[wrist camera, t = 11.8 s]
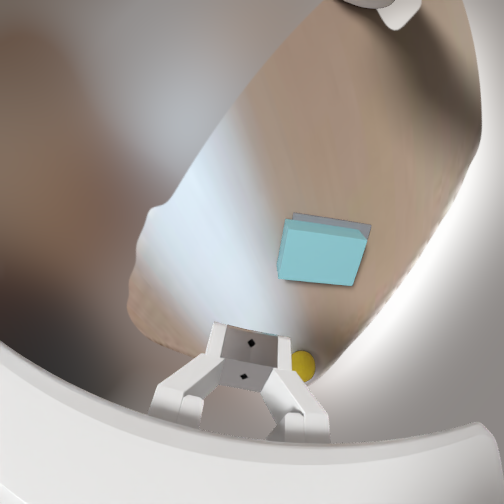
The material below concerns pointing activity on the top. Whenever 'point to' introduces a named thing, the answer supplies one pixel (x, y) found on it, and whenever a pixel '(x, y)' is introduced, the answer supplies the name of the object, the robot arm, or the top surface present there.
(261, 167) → the top surface
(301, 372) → the lemon
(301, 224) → the teal block
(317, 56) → the top surface
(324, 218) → the mat
